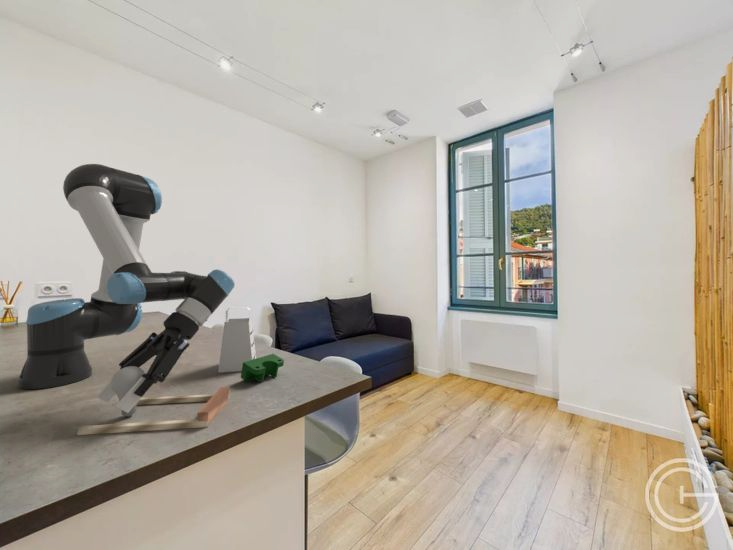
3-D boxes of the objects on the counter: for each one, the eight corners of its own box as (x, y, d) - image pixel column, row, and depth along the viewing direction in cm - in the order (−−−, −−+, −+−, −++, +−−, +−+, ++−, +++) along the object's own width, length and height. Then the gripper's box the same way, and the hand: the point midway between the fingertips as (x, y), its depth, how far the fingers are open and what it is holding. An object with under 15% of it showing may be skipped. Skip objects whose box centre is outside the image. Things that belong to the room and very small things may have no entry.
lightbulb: (152, 412, 69) (152, 364, 69) (123, 425, 63) (123, 372, 63) (134, 408, 71) (133, 361, 71) (104, 420, 65) (103, 369, 65)
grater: (225, 362, 106) (225, 306, 106) (256, 360, 109) (256, 305, 109) (218, 372, 96) (218, 309, 96) (253, 370, 99) (253, 309, 99)
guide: (77, 435, 59) (77, 419, 59) (125, 403, 73) (125, 391, 73) (207, 427, 62) (207, 412, 62) (229, 398, 77) (229, 386, 77)
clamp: (256, 397, 88) (251, 374, 84) (244, 388, 91) (237, 366, 87) (288, 372, 96) (284, 350, 92) (275, 364, 99) (271, 343, 95)
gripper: (223, 332, 75) (151, 424, 61) (174, 324, 86) (104, 401, 72) (202, 313, 70) (119, 408, 56) (154, 307, 81) (74, 386, 67)
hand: (111, 404), depth 64 cm, fingers open, 9 cm apart
